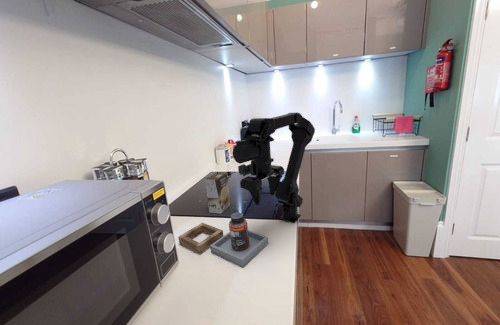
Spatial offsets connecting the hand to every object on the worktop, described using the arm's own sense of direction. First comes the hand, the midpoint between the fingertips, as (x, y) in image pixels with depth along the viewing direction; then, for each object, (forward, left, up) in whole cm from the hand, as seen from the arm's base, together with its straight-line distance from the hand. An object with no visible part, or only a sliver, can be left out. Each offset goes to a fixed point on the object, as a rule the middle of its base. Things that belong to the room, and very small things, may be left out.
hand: (265, 199), depth 79 cm
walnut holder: (+16, -17, -13) cm, 27 cm away
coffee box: (-6, -30, -13) cm, 33 cm away
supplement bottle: (+12, -3, -13) cm, 18 cm away
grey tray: (+12, -3, -13) cm, 18 cm away
